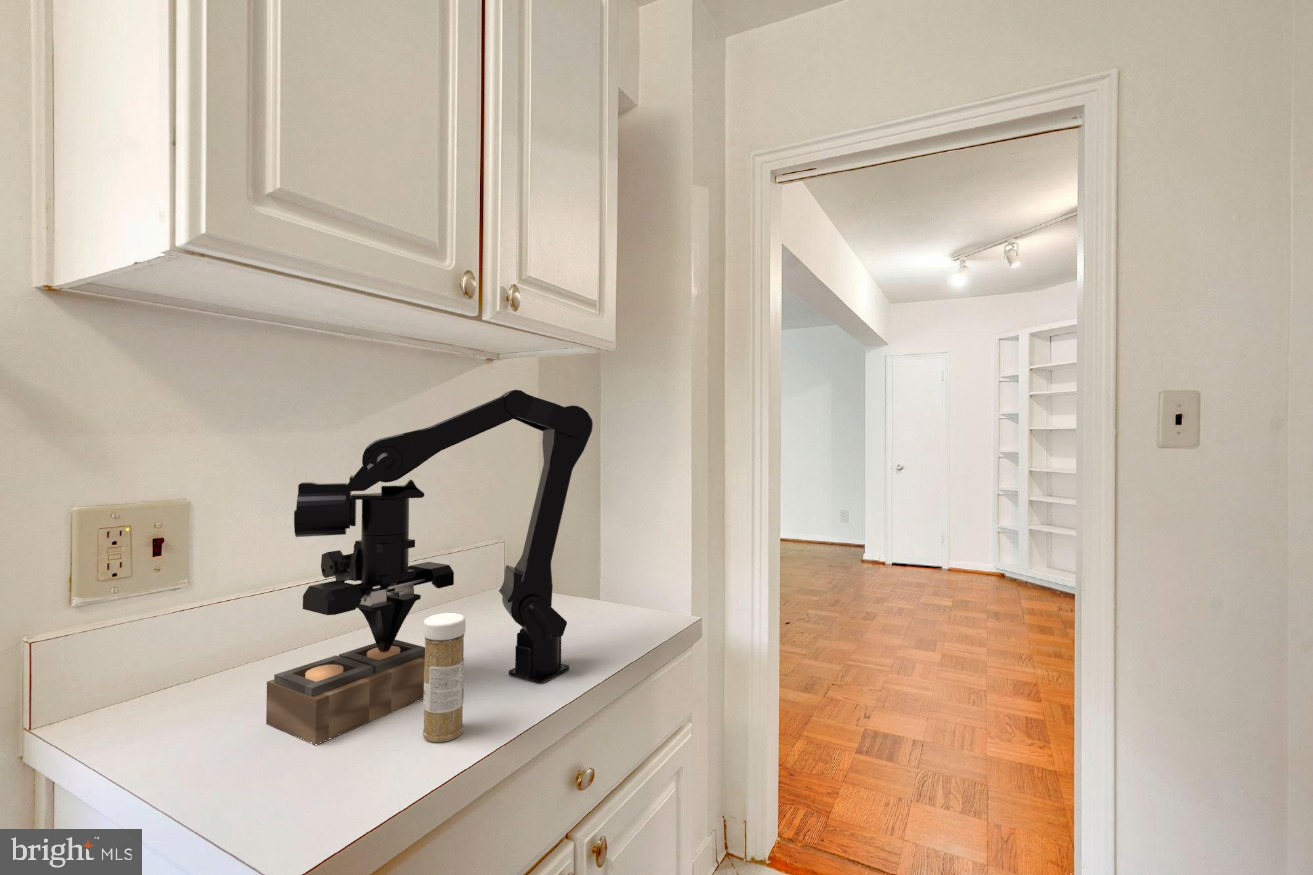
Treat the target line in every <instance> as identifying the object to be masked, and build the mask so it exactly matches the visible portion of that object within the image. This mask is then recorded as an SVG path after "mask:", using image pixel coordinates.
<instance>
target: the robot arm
mask: <svg viewBox="0 0 1313 875" xmlns="http://www.w3.org/2000/svg"><path fill="white" fill-rule="evenodd" d="M511 420H515V421H517V422H520V423H522V424H524V425H526V426H529V427H531V428H533V429H536V430H538V431H540V432H542V440H541V441H542V442H541V443H542V455H543V466H542V469H541V470H542V471H541V474H540V478H539V481H538V482H539V483H538V486H537V492H536V495H535V500H534V503H533V507H532V512H531V516H530V519H529V525H528V529H527V533H526V538H525V541H524V545H523V550H522V554H521V555H520V556H521V557H520V558H519V559H518V561H517V563H516V565H514V566H511V565H509V564H508V565H507V564H506V565H505V567H504V579H503V582H502V585H501V587H500V588H499V590H498V592H499V594H501V596H502V598H501V599H502V600H501V602H502V604H503V607H504V608H505V610H506V612H507V613H508V614H509V615H510V616H511V619H513V620H514V622H515V623H516V624H518V625H519V626H521V628H520V630H519V632H517V633H516V645H515V648H514V649H515V651H514V652H515V658H514V659H515V663H514V664H515V666H514V667H513V668H511V669H509V670H508V672H507V674H508V675H509V676H513V677H517V678H519V679H520V678H521V679H525V680H528V681H531V682H535V683H539V684H542V683H545V682H548V681H549V680H551V679H554V678H555V677H556V676H559V675H561V674H562V673H564V672H567V671H569V670H570V665H569V664H566V663H562V637H563V636H564V634H565V630H566V628H567V625H568V621H567V620H566V619H565V618H564V617H562V616H561V614H559V612H558V611H556V610H555V608H553V607H552V605H553V604H552V601H553V588H554V587H553V586H554V585H553V573H552V572H553V571H552V559H553V556H554V551H555V547H556V544H557V543H556V542H557V539H558V534H559V531H560V530H559V529H560V526H561V520H562V517H563V512H564V508H565V504H566V499H567V496H568V495H567V494H568V491H569V487H570V482H571V478H572V474H573V470H574V468H575V466H576V464H577V463H578V461H579V459H580V458H581V456H582V455H583V453H584V452H585V448H586V446H587V444H588V441H589V439H590V437H591V434H592V432H593V425H594V422H593V419H592V417H591V416H590V414H589V412H588V411H587V410H585V408H583V407H581V406H579V405H567V406H563V405H560V404H558V403H555V402H552V401H549V400H545V399H543V398H540V397H539V398H538V397H536V396H533V395H531V394H528V393H526V392H525V391H523V390H521V389H512V390H508V391H506V392H504V393H503V394H502V395H500V396H498V397H497V398H493V399H492V400H489V401H487V402H484V403H482V404H480V405H477V406H475V407H473V408H470V409H468V410H466V411H463V412H461V413H458V414H456V415H454V416H451V417H450V418H447V419H444V420H442V421H440V422H437V423H435V424H433V425H430V426H427V427H424V428H420V429H415V430H412V431H408V432H403V433H399V434H395V435H390V436H386V437H383V438H382V437H381V438H379V439H375V440H374V441H372V442H370V443H369V445H367V446H366V448H365V449H364V451H363V453H362V456H361V458H362V459H361V461H362V462H361V463H362V466H361V467H360V468H359V469H358V470H357V472H356V473H355V474H354V475H350V476H349V481H348V482H347V483H346V482H344V483H343V482H342V483H341V482H340V483H339V482H338V483H316V482H313V481H312V482H310V481H309V482H300V483H299V484H298V486H297V496H296V506H295V507H296V509H294V512H293V526H294V528H293V529H294V535H295V538H303V537H304V538H305V537H308V538H309V537H322V536H323V537H325V536H326V537H327V536H345V535H347V530H348V529H351V527H356V526H357V525H356V524H357V501H358V500H359V501H361V537H360V538H361V539H359V540H354V544H353V552H352V553H349V554H343V552H342V551H341V550H332V551H327V552H325V553H322V554H321V560H320V563H321V564H320V570H321V575H322V577H323V578H325V579H327V578H334V577H335V580H331V581H328V582H321V583H317V584H313V585H311V584H310V585H308V586H307V588H306V589H305V591H304V593H303V595H302V610H305V611H308V612H312V613H317V614H321V615H325V616H335V615H339V614H344V613H347V612H348V613H349V612H351V611H355V610H356V609H358V610H359V611H360V612H361V613H362V614H363V616H364V618H365V620H366V622H367V624H368V626H369V629H370V632H371V634H372V637H373V638H374V643H376V644H377V647H378V649H379V651H381V652H386V651H389V650H390V648H391V646H392V644H393V642H394V640H395V639H396V638H397V636H398V633H399V631H400V630H401V628H402V626H403V624H404V622H405V619H406V618H407V617H408V615H409V613H410V611H411V610H412V608H413V606H414V605H415V603H416V602H417V601H419V600H421V598H422V597H421V596H422V595H421V594H418V593H417V594H416V593H415V588H414V587H416V586H418V585H423V584H427V583H431V584H432V586H433V587H434V588H435V589H442V588H447V587H450V586H454V585H455V572H454V570H453V569H452V567H451V566H450V564H445V563H438V562H432V561H426V562H420V563H417V564H411V565H410V564H409V553H410V552H409V549H413V548H415V547H416V539H414V538H413V539H412V538H410V537H409V536H410V532H409V531H410V530H409V529H410V499H421V498H425V493H424V491H423V490H421V489H420V488H419V487H417V485H416V483H415V482H414V480H412V479H409V480H408V481H406V483H405V484H404V485H381V487H380V488H381V489H380V492H375V493H374V492H373V493H353V494H352V492H365V491H366V490H368V489H370V488H371V487H373V486H374V485H376V484H378V483H379V482H381V483H392V482H395V481H398V480H400V479H401V478H403V477H405V476H406V475H408V474H409V473H411V472H412V471H414V470H415V469H416V468H418V467H420V466H421V465H422V464H424V463H425V462H426V461H428V460H429V459H431V458H433V457H434V456H435V455H437V454H439V453H440V452H441V451H444V450H446V449H448V448H451V447H453V446H455V445H457V444H459V443H462V442H464V441H466V440H469V439H471V438H473V437H476V436H477V435H480V434H482V433H485V432H487V431H489V430H491V429H494V428H496V427H498V426H500V425H504V424H505V423H507V422H509V421H511ZM347 581H351V582H358V581H359V582H360V583H354V584H353V583H349V582H347Z"/></svg>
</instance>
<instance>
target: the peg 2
mask: <svg viewBox="0 0 1313 875" xmlns="http://www.w3.org/2000/svg"><path fill="white" fill-rule="evenodd" d="M399 653H400V648H399V647H396V646H391V648H390V650H389V651H386V652H381V651H379V649H378V647H377V648H374V649H371V650H369V651H368V652H367V657H369V658H372V659H376V660H381V659H384V658H387V657H390V656H393V655H396V654H399Z"/></svg>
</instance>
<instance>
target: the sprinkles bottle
mask: <svg viewBox="0 0 1313 875" xmlns="http://www.w3.org/2000/svg"><path fill="white" fill-rule="evenodd" d="M465 634H466V617H465V616H464V615H463V614H460V613H454V612H445V613H444V612H443V613H438V614H437V613H436V614H434V615H431V616H428V617H426V618H425V619H424V620H423V637H424V647H425V670H424V698H423V706H422V707H423V711H424V712H423V728H422V736H423V738H424V740H426V741H428V742H434V743H435V742H437V743H438V742H439V743H441V742H448V741H451V740H454V739H455V738H457V737H459V736H460V735H462V734H463V732H464V724H463V711H464V710H463V706H464V700H465V698H464V696H465V695H464V694H465V693H464V690H465V687H464V686H465V684H464V683H465V680H464V678H465V673H464V672H465V659H464V658H465V657H464V651H465V650H464V649H465V648H464V646H465V645H464V644H465V643H464V642H465V641H464V640H465V638H464V637H465Z"/></svg>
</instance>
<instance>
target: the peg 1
mask: <svg viewBox="0 0 1313 875" xmlns="http://www.w3.org/2000/svg"><path fill="white" fill-rule="evenodd" d="M341 673H343V666H341V665H323V666H318V667H315V668H312V669H310V670H308V671H307V672H306V674H305V678H307V679H310V680H313V681H315V682H317V681H320V680H323V679H326V678H329V677H332V676H335V675H338V674H341Z"/></svg>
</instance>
